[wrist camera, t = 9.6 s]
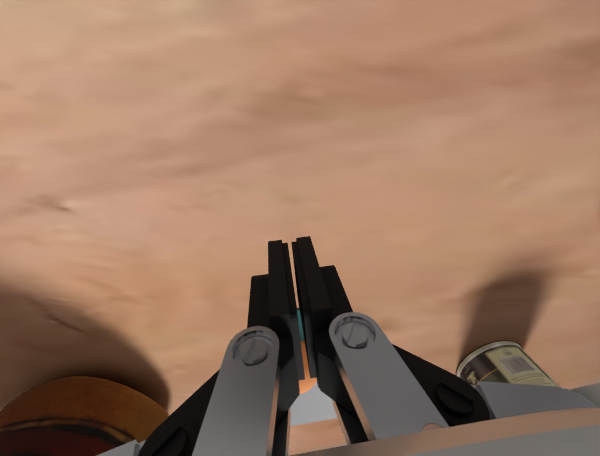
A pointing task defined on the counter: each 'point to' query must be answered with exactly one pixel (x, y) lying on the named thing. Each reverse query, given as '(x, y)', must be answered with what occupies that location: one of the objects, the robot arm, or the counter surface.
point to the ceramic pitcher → (77, 418)
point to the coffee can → (503, 366)
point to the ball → (306, 373)
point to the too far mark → (312, 407)
